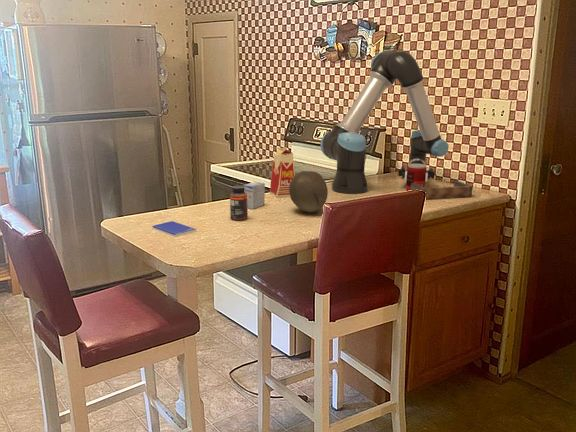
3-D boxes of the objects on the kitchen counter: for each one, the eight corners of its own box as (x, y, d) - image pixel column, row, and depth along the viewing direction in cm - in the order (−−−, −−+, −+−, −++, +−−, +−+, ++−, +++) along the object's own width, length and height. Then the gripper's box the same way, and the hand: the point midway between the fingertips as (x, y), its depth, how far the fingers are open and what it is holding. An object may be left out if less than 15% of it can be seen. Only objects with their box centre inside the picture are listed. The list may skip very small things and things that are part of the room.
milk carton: (297, 196, 230) (299, 146, 225) (276, 197, 227) (277, 147, 222) (289, 191, 238) (290, 143, 233) (268, 192, 235) (269, 144, 230)
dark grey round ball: (330, 208, 212) (332, 169, 208) (322, 218, 199) (323, 176, 195) (293, 205, 216) (294, 166, 212) (283, 215, 202) (284, 173, 198)
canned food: (426, 190, 245) (429, 164, 242) (420, 193, 239) (422, 167, 236) (409, 187, 249) (411, 162, 246) (403, 191, 243) (404, 165, 240)
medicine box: (255, 203, 218) (255, 181, 216) (264, 205, 216) (265, 182, 213) (243, 207, 211) (243, 184, 209) (253, 209, 209) (253, 186, 207)
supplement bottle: (244, 215, 201) (244, 184, 198) (249, 220, 196) (249, 187, 192) (228, 217, 199) (227, 185, 196) (232, 221, 193) (232, 189, 190)
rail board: (423, 200, 228) (424, 189, 226) (410, 193, 238) (411, 183, 237) (471, 197, 234) (472, 186, 233) (456, 191, 244) (457, 180, 243)
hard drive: (196, 228, 182) (173, 220, 190) (175, 233, 176) (152, 225, 184) (196, 233, 182) (173, 225, 190) (175, 238, 176) (152, 230, 185)
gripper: (439, 177, 258) (440, 188, 236) (393, 174, 262) (390, 184, 241) (441, 161, 256) (442, 170, 234) (394, 158, 260) (391, 167, 239)
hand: (416, 177), depth 238 cm, fingers closed on canned food, 8 cm apart
